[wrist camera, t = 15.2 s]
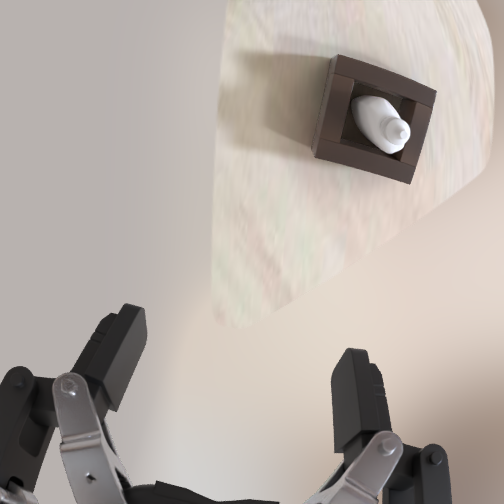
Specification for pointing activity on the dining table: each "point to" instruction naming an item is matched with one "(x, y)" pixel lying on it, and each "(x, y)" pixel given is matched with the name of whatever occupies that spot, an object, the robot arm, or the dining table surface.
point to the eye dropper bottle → (380, 123)
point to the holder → (335, 110)
